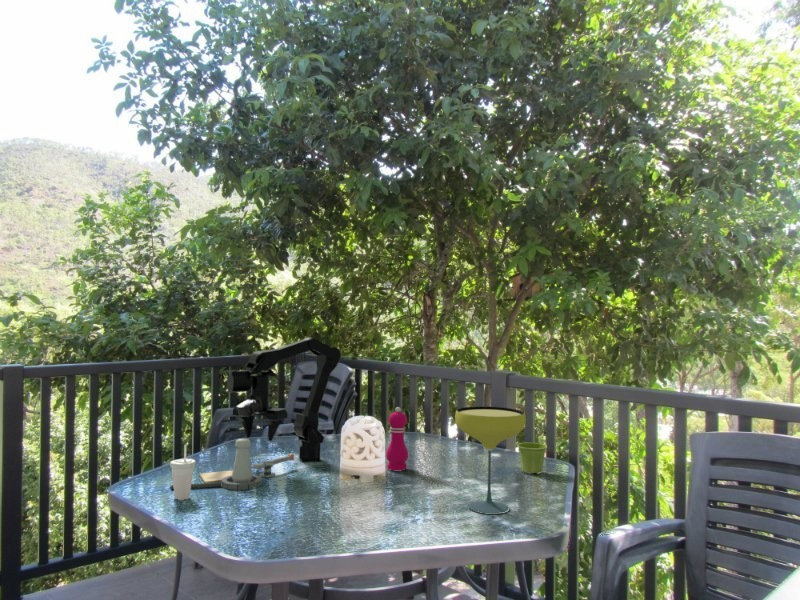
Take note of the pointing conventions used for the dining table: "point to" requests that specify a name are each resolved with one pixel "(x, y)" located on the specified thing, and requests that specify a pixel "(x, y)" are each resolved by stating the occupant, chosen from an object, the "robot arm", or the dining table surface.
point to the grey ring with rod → (231, 484)
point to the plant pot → (532, 456)
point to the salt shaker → (242, 462)
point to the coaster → (215, 476)
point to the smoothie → (182, 476)
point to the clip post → (267, 473)
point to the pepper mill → (397, 441)
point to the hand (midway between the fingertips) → (259, 439)
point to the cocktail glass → (490, 439)
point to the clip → (273, 462)
